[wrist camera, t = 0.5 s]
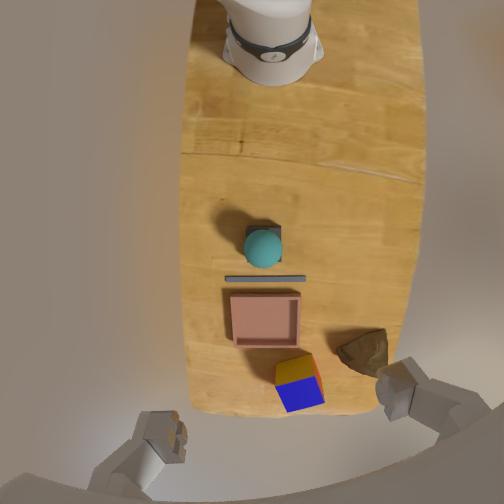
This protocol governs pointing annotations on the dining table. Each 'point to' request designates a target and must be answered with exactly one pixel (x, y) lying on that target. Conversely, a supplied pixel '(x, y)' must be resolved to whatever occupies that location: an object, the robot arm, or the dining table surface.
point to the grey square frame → (271, 228)
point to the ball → (262, 248)
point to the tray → (266, 320)
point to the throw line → (267, 279)
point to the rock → (366, 353)
